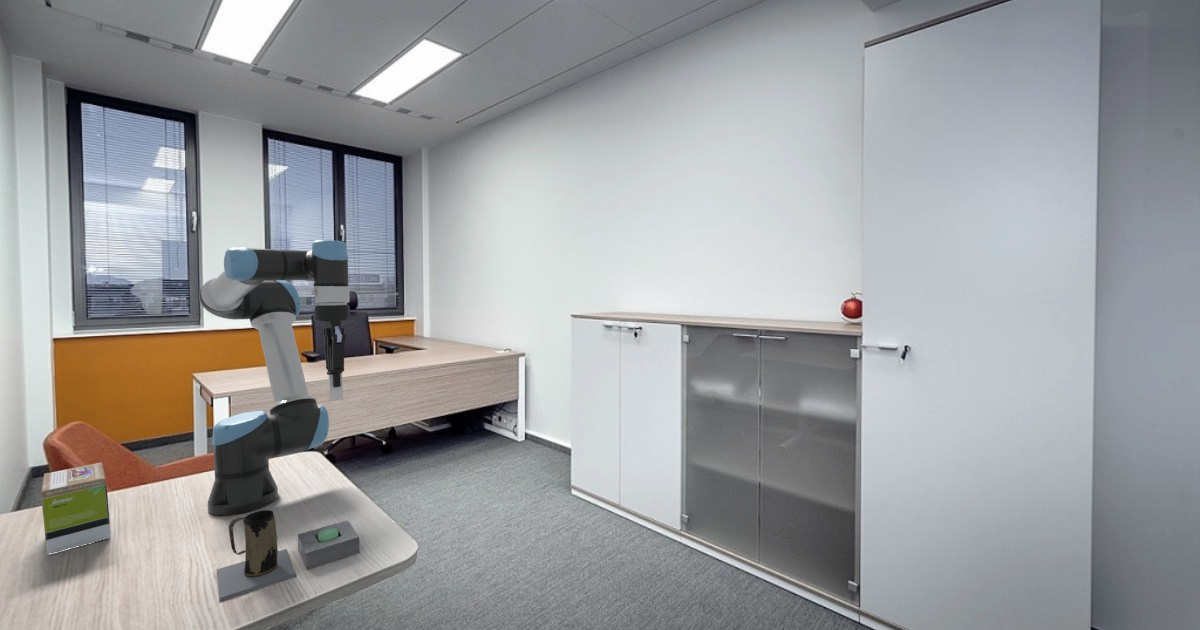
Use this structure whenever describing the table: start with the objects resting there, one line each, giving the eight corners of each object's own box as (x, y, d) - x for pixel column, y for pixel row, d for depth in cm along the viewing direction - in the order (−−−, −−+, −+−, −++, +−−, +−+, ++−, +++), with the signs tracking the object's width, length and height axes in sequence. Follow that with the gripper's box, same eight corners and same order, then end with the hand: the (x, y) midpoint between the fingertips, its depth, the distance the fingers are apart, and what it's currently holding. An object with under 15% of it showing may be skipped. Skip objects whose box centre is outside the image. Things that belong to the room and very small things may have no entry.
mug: (268, 558, 103) (265, 502, 102) (284, 565, 100) (281, 507, 99) (225, 578, 96) (222, 518, 95) (241, 586, 93) (238, 524, 92)
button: (316, 545, 107) (316, 531, 106) (336, 539, 109) (335, 526, 109) (320, 552, 104) (319, 538, 103) (340, 546, 106) (339, 532, 106)
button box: (298, 549, 107) (297, 534, 107) (348, 534, 113) (347, 520, 113) (306, 570, 99) (305, 553, 99) (360, 552, 106) (359, 536, 106)
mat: (216, 572, 99) (216, 569, 99) (286, 551, 107) (286, 548, 106) (219, 601, 90) (219, 598, 90) (295, 576, 97) (295, 573, 97)
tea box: (47, 533, 115) (43, 472, 114) (108, 518, 123) (104, 460, 122) (45, 557, 105) (40, 489, 104) (111, 539, 112) (107, 476, 112)
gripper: (309, 304, 123) (313, 397, 124) (320, 305, 113) (324, 406, 114) (342, 303, 128) (346, 393, 129) (355, 304, 118) (359, 401, 119)
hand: (336, 399), depth 122 cm, fingers closed
